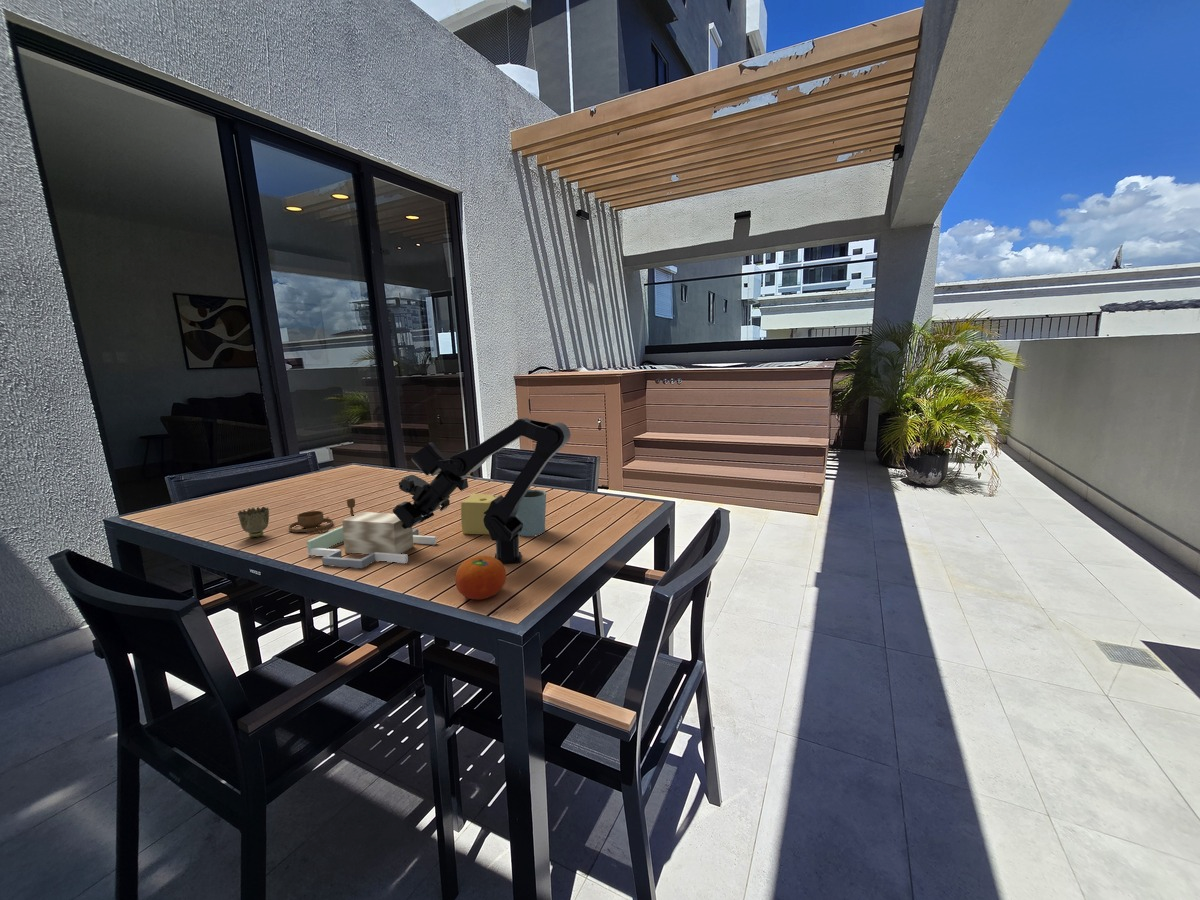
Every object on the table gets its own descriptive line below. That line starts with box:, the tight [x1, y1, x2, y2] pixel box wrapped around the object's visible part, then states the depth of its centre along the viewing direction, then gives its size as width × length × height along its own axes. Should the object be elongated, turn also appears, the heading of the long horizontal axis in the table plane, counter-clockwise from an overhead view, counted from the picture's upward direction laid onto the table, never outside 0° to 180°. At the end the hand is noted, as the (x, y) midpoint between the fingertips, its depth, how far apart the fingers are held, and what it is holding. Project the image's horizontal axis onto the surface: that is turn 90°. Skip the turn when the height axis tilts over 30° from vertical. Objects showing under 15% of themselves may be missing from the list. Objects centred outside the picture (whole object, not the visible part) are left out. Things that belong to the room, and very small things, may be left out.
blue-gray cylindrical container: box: [516, 489, 547, 537], centre depth 145 cm, size 10×10×12 cm
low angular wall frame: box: [306, 525, 437, 569], centre depth 131 cm, size 28×25×4 cm
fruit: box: [454, 555, 507, 600], centre depth 104 cm, size 11×10×8 cm
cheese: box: [460, 493, 498, 535], centre depth 148 cm, size 10×11×10 cm
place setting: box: [288, 498, 356, 535], centre depth 153 cm, size 18×20×6 cm
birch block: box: [342, 511, 414, 555], centre depth 131 cm, size 15×8×9 cm, turn 79°
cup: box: [237, 506, 270, 539], centre depth 142 cm, size 8×7×8 cm
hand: (404, 527), depth 129 cm, fingers closed, pressing on birch block
